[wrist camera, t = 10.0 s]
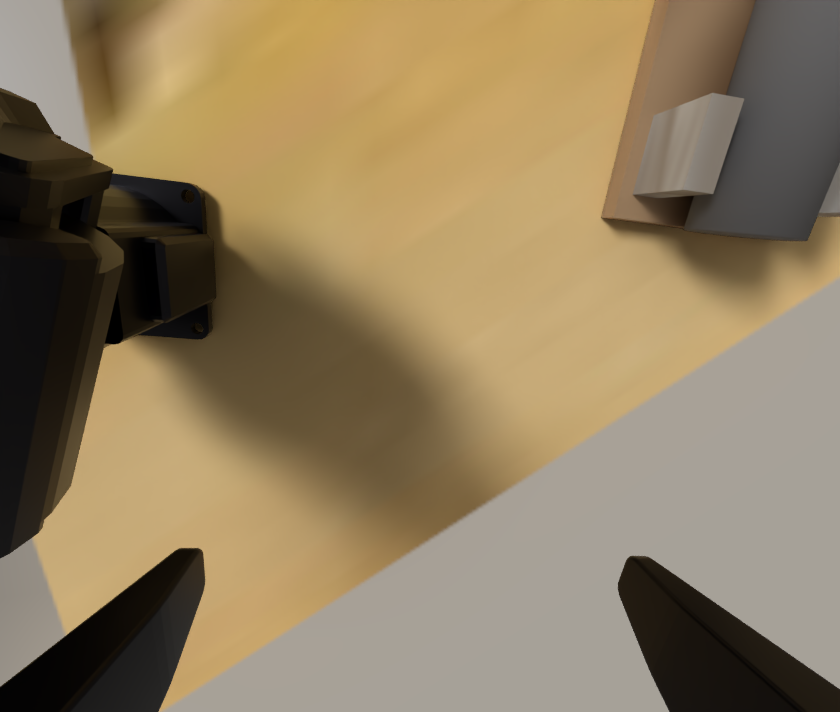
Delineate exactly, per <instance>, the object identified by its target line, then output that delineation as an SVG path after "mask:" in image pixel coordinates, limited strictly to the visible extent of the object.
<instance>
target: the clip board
mask: <svg viewBox="0 0 840 712" xmlns="http://www.w3.org/2000/svg"><path fill="white" fill-rule="evenodd" d="M755 1H756V0H655V3H654V7H653V11H652V15H651V19H650V23H649V27H648V31H647V35H646V39H645V43H644V47H643V51H642V55H641V59H640V63H639V67H638V71H637V75H636V79H635V83H634V87H633V91H632V95H631V100H630V104H629V108H628V112H627V116H626V120H625V124H624V128H623V132H622V136H621V140H620V144H619V148H618V152H617V156H616V160H615V164H614V168H613V172H612V176H611V180H610V184H609V188H608V192H607V196H606V200H605V204H604V208H603V212H602V216H601V218H608V219H615V220H623V221H631V222H638V223H646V224H654V225H661V226H669V227H677V228H684V226H685V223H686V220H687V217H688V213H689V210H690V207H691V204H692V201H693V198H694V195H707V194H713V193H714V190H715V187H716V184H717V181H718V178H719V175H720V172H721V168H722V165H723V162H724V159H725V156H726V153H727V150H728V147H729V144H730V141H731V138H732V135H733V132H734V129H735V126H736V123H737V120H738V117H739V114H740V111H741V108H742V105H743V102H744V98H738V97H733V96H727V95H726V93H727V90H728V87H729V84H730V80H731V77H732V74H733V71H734V68H735V65H736V61H737V58H738V55H739V52H740V49H741V46H742V42H743V39H744V36H745V33H746V30H747V27H748V23H749V20H750V17H751V14H752V11H753V8H754V4H755ZM817 217H840V163H839V165H838V168H837V170H836V173H835V175H834V177H833V180H832V182H831V185H830V187H829V189H828V192H827V194H826V197H825V199H824V202H823V204H822V206H821V209H820V211H819V214H818V216H817ZM781 241H783V240H781Z"/></svg>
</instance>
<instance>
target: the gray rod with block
mask: <svg viewBox="0 0 840 712" xmlns="http://www.w3.org/2000/svg"><path fill="white" fill-rule="evenodd" d="M726 95H727V96H733V97H738V98H744V102H743V105H742V108H741V111H740V114H739V117H738V120H737V123H736V126H735V129H734V132H733V135H732V138H731V141H730V144H729V147H728V150H727V153H726V156H725V159H724V162H723V165H722V168H721V172H720V175H719V178H718V181H717V184H716V187H715V190H714V193H713V194H707V195H694V198H693V201H692V204H691V207H690V210H689V213H688V217H687V220H686V223H685V226H684V230H686V231H691V232H698V233H705V234H713V235H722V236H732V237H743V238H754V239H767V240H783V241H807V240H808V238H809V235H810V233H811V230H812V228H813V226H814V223H815V221H816V218H817V216H818V214H819V211H820V209H821V206H822V204H823V202H824V199H825V197H826V194H827V192H828V189H829V187H830V185H831V182H832V180H833V177H834V175H835V173H836V170H837V168H838V165H839V163H840V0H756V1H755V4H754V8H753V11H752V14H751V17H750V20H749V23H748V27H747V30H746V33H745V36H744V39H743V42H742V46H741V49H740V52H739V55H738V58H737V61H736V65H735V68H734V71H733V74H732V77H731V80H730V84H729V87H728V90H727V93H726Z"/></svg>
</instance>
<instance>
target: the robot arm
mask: <svg viewBox="0 0 840 712" xmlns="http://www.w3.org/2000/svg"><path fill="white" fill-rule="evenodd" d="M112 172H113V169H112V168H110V167H108V166H106V165H104V164H102V163H100V162H97V161H95V160H93V156H92V155H91V154H89V153H87V152H84V151H83V150H80V149H78V148H76V147H74V146H72V145H70V144H68V143H66V142H64V141H62V140H61V137H60V136H58V135H56V134H54V132H53V131H52V129H51V128H50V126H49V124H48V123H47V121H46V119H45V118H44V116H43V115H42V113H41V111H40V110H39V108H38V107H37V105H36V103H34V102H31V101H29V100H27V99H25V98H23V97H21V96H18V95H16V94H14V93H12V92H10V91H7V90H4V89H2V88H0V558H2V557H4V556H6V555H8V554H10V553H11V552H13V551H14V550H15V549H17V548H18V547H19V546H21V545H22V544H24V543H25V542H26V541H28V540H29V539H31V538H32V537H33V536H35V535H36V534H38V533H39V531H40V530H41V529H42V527H43V523H44V519H45V518H46V517H47V516H49V515H50V514H51V513H52V511H53V510H54V509H55V507H56V506H57V504H58V503H59V502H60V500H61V499H62V497H63V496H64V495H65V493H66V492H67V490H68V489H69V488H70V486H71V483H72V479H73V475H74V470H75V466H76V462H77V458H78V454H79V449H80V445H81V441H82V437H83V433H84V428H85V424H86V420H87V416H88V411H89V407H90V403H91V399H92V395H93V390H94V386H95V382H96V378H97V374H98V369H99V365H100V361H101V357H102V353H103V348H105V347H107V346H109V345H111V344H119V343H121V342H123V341H125V340H128V339H130V338H132V337H134V336H136V335H148V336H161V337H173V338H186V339H203V338H205V337H207V336H208V335H210V333H211V332H212V328H213V327H212V309H211V301H212V300H213V299H215V298H216V280H215V261H214V242H213V239H212V238H211V237H210V236H209V235H208V234H207V221H206V204H205V196H204V193H203V191H202V190H201V188H199V187H198V186H197V185H194V184H190V183H184V182H176V181H168V180H160V179H152V178H144V177H136V176H128V175H120V174H112ZM189 190H190V191H191V192H192V193H193V194H194V197H195V198H194V201H193V202H192V203H190V202H189V201H188V200H187V199H186V193H187V192H188V191H189ZM195 323H198V324H200V325H201V326H202V327H203V332H200V331H198V330H197V329H196V328H195ZM204 586H205V571H204V558H203V552H202V550H201V549H199V548H180V549H177V550H176V551H174V552H173V553H172V554H170V555H169V556H168V557H166V558H165V559H164V560H163V561H161V562H160V563H159V564H157V565H156V566H155V567H154V568H152V569H151V570H150V571H148V572H147V573H146V574H145V575H143V576H142V577H141V578H139V579H138V580H137V581H136V582H134V583H133V584H132V585H130V586H129V587H128V588H127V589H125V590H124V591H123V592H121V593H120V594H119V595H118V596H116V597H115V598H114V599H112V600H111V601H110V602H109V603H107V604H106V605H105V606H103V607H102V608H101V609H100V610H98V611H97V612H96V613H94V614H93V615H92V616H91V617H89V618H88V619H87V620H85V621H84V622H83V623H82V624H80V625H79V626H78V627H76V628H75V629H74V630H73V631H71V632H70V633H69V634H67V635H66V636H65V637H64V638H62V639H61V640H60V641H58V642H57V643H56V644H55V645H54V646H52V647H51V648H50V649H48V650H47V651H46V652H44V653H43V654H42V655H40V656H39V657H38V658H37V659H35V660H34V661H33V662H31V663H30V664H29V665H28V666H26V667H25V668H24V669H22V670H21V671H20V672H19V673H17V674H16V675H15V676H14V677H12V678H11V679H10V680H8V681H7V682H6V683H4V684H3V685H2V686H1V687H0V712H158V711H159V709H160V707H161V705H162V703H163V700H164V698H165V696H166V693H167V691H168V689H169V686H170V684H171V681H172V679H173V676H174V673H175V671H176V668H177V665H178V662H179V659H180V657H181V654H182V651H183V648H184V645H185V642H186V640H187V637H188V634H189V631H190V628H191V625H192V623H193V620H194V617H195V614H196V611H197V608H198V606H199V603H200V600H201V597H202V594H203V591H204ZM618 591H619V595H620V598H621V601H622V603H623V606H624V608H625V611H626V613H627V616H628V618H629V621H630V623H631V626H632V628H633V631H634V633H635V636H636V638H637V641H638V643H639V646H640V648H641V651H642V653H643V656H644V658H645V661H646V663H647V665H648V668H649V670H650V672H651V675H652V677H653V679H654V681H655V683H656V685H657V687H658V689H659V691H660V693H661V695H662V697H663V699H664V701H665V704H666V705H667V707H668V710H669V712H840V689H839V688H837V687H835V686H834V685H833V684H831V683H830V682H828V681H827V680H826V679H824V678H823V677H821V676H820V675H818V674H817V673H815V672H814V671H813V670H811V669H810V668H808V667H807V666H805V665H804V664H803V663H801V662H800V661H798V660H796V659H795V658H794V657H792V656H791V655H790V654H788V653H787V652H785V651H784V650H782V649H781V648H779V647H778V646H777V645H775V644H774V643H772V642H771V641H769V640H768V639H766V638H765V637H764V636H762V635H761V634H759V633H758V632H756V631H755V630H754V629H752V628H751V627H749V626H748V625H746V624H745V623H743V622H742V621H741V620H739V619H738V618H736V617H735V616H733V615H732V614H730V613H729V612H727V611H726V610H725V609H723V608H722V607H720V606H719V605H717V604H716V603H715V602H713V601H712V600H710V599H709V598H707V597H706V596H705V595H703V594H702V593H700V592H699V591H697V590H696V589H694V588H693V587H691V586H690V585H689V584H687V583H686V582H684V581H683V580H681V579H680V578H679V577H677V576H676V575H674V574H673V573H671V572H670V571H668V570H667V569H666V568H664V567H663V566H661V565H660V564H658V563H657V562H655V561H654V560H652V559H651V558H649V557H646V556H630V557H629V558H628V559H627V560H626V563H625V565H624V568H623V571H622V573H621V576H620V579H619V582H618Z"/></svg>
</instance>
